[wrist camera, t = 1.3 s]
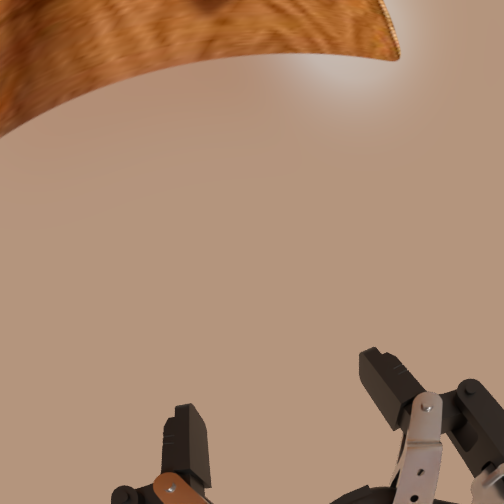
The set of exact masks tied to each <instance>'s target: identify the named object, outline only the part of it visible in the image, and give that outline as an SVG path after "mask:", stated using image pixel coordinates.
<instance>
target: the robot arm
mask: <svg viewBox="0 0 504 504" xmlns="http://www.w3.org/2000/svg"><path fill="white" fill-rule="evenodd" d="M359 376H360V380H361V382H362V384H363V386H364V387H365V389H366V390H367V392H368V393H369V395H370V396H371V398H372V399H373V401H374V402H375V404H376V405H377V407H378V408H379V410H380V411H381V413H382V415H383V416H384V418H385V419H386V421H387V422H388V423H389V425H390V426H391V428H392V430H393V431H395V430H397V429H398V428H401V430H402V431H403V434H402V439H401V444H400V449H399V453H398V458H397V462H396V466H395V469H394V472H393V475H392V478H391V481H390V484H389V487H374V488H369V486H368V485H366V486H364V487H361V488H359V489H357V490H354V491H352V492H350V493H347V494H344V495H343V496H341V497H340V498H338V499H337V500H335V501H333V502H332V503H330V504H457V503H451V502H446V501H442V500H437V499H434V495H435V491H436V486H437V481H438V475H439V470H440V463H441V456H442V443H441V442H440V435H441V434H444V433H446V434H447V435H448V437H449V438H450V440H451V441H452V443H453V444H454V446H455V447H456V449H457V451H458V452H459V454H460V455H461V457H462V459H463V460H464V461H465V463H466V465H467V467H468V468H469V470H470V471H471V473H472V475H473V476H474V478H475V479H474V480H473V482H472V485H471V493H472V496H473V500H472V504H504V410H503V409H502V407H501V406H500V405H499V404H498V402H497V401H496V400H495V399H494V398H493V397H492V396H491V394H490V393H489V392H488V391H487V390H486V389H485V387H484V386H483V385H482V384H481V383H480V382H479V381H477V380H475V379H466V380H464V381H462V382H461V383H460V384H459V386H458V388H457V390H454V391H451V392H447V393H444V394H439V395H438V394H436V393H433V392H427V391H426V390H425V389H424V388H423V387H422V386H421V385H420V384H419V382H418V381H417V380H416V379H415V378H414V377H413V375H412V374H411V373H410V372H409V371H407V368H405V366H404V365H402V363H401V362H400V361H399V359H398V358H397V357H396V356H394V355H392V354H389V353H387V352H386V353H384V354H381V353H380V352H379V351H378V349H377V348H376V347H372V348H370V349H368V350H365V351H363V352H361V353H360V354H359ZM163 436H164V438H163V447H162V467H161V474H160V475H159V476H158V477H157V478H156V479H155V480H154V483H152V484H150V485H147V486H144V487H141V488H137V489H133V488H132V487H129V486H125V485H124V486H120V487H118V488H116V489H115V490H114V491H113V493H112V496H111V504H213V503H212V502H211V501H210V500H209V499H208V498H207V497H205V492H204V488H211V477H210V466H209V454H208V441H207V430H206V426H205V423H204V421H203V419H202V418H201V416H200V415H199V413H198V412H197V410H196V409H195V407H194V406H193V405H192V404H191V403H190V404H185V405H179V406H176V407H175V417H172V418H168V420H167V422H166V424H165V426H164V432H163Z"/></svg>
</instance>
